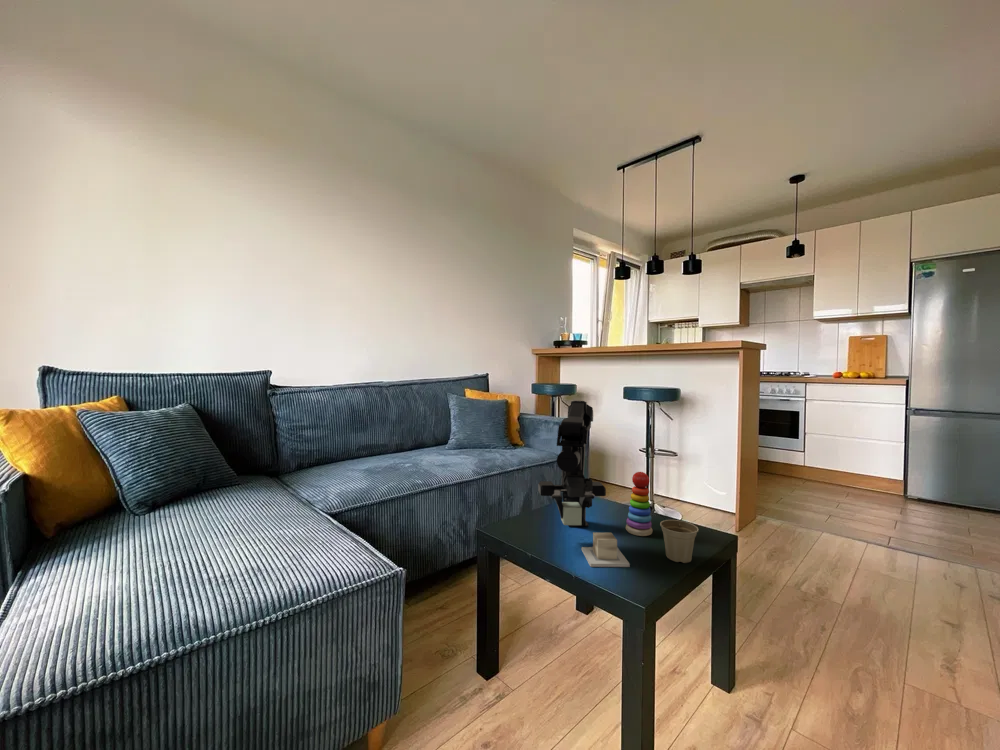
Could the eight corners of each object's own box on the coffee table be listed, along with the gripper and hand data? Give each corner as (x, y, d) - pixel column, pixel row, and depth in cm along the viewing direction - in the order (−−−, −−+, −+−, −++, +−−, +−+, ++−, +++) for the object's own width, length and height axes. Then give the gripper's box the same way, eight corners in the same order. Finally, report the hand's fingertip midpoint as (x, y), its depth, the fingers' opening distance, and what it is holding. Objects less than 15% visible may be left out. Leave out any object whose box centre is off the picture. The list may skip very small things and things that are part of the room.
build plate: (581, 549, 113) (581, 546, 113) (617, 549, 113) (617, 547, 113) (590, 566, 103) (590, 563, 103) (629, 566, 103) (629, 563, 103)
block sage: (560, 518, 120) (561, 502, 120) (577, 519, 120) (577, 502, 120) (563, 525, 115) (564, 507, 115) (581, 525, 115) (581, 507, 115)
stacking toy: (647, 539, 121) (648, 476, 121) (621, 532, 126) (622, 472, 126) (655, 531, 127) (656, 471, 127) (630, 525, 132) (631, 467, 132)
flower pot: (694, 570, 102) (695, 535, 102) (655, 559, 107) (656, 527, 107) (700, 556, 110) (701, 524, 110) (664, 547, 115) (664, 517, 115)
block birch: (592, 550, 110) (593, 532, 110) (611, 550, 111) (611, 532, 111) (597, 559, 105) (598, 540, 105) (616, 559, 106) (617, 540, 106)
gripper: (543, 470, 109) (542, 528, 109) (612, 471, 110) (611, 528, 110) (538, 461, 121) (537, 514, 120) (600, 462, 121) (600, 514, 121)
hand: (571, 518), depth 118 cm, fingers closed on block sage, 5 cm apart
